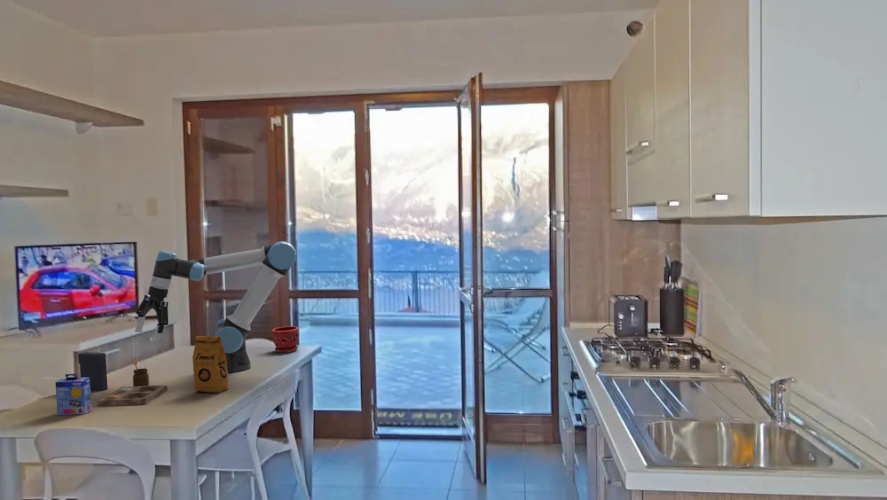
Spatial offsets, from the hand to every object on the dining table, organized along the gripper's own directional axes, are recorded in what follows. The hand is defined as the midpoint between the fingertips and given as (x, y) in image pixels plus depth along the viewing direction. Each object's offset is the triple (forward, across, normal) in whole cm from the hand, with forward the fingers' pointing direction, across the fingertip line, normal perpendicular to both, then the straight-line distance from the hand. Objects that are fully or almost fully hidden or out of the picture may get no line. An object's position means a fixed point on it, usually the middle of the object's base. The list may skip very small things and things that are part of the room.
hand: (147, 336), depth 276 cm
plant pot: (+4, +7, +75) cm, 76 cm away
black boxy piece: (+25, -6, -13) cm, 29 cm away
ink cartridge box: (+24, +21, -36) cm, 48 cm away
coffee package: (+12, +40, +6) cm, 42 cm away
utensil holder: (+20, +7, -2) cm, 21 cm away
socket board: (+19, +21, -14) cm, 32 cm away
